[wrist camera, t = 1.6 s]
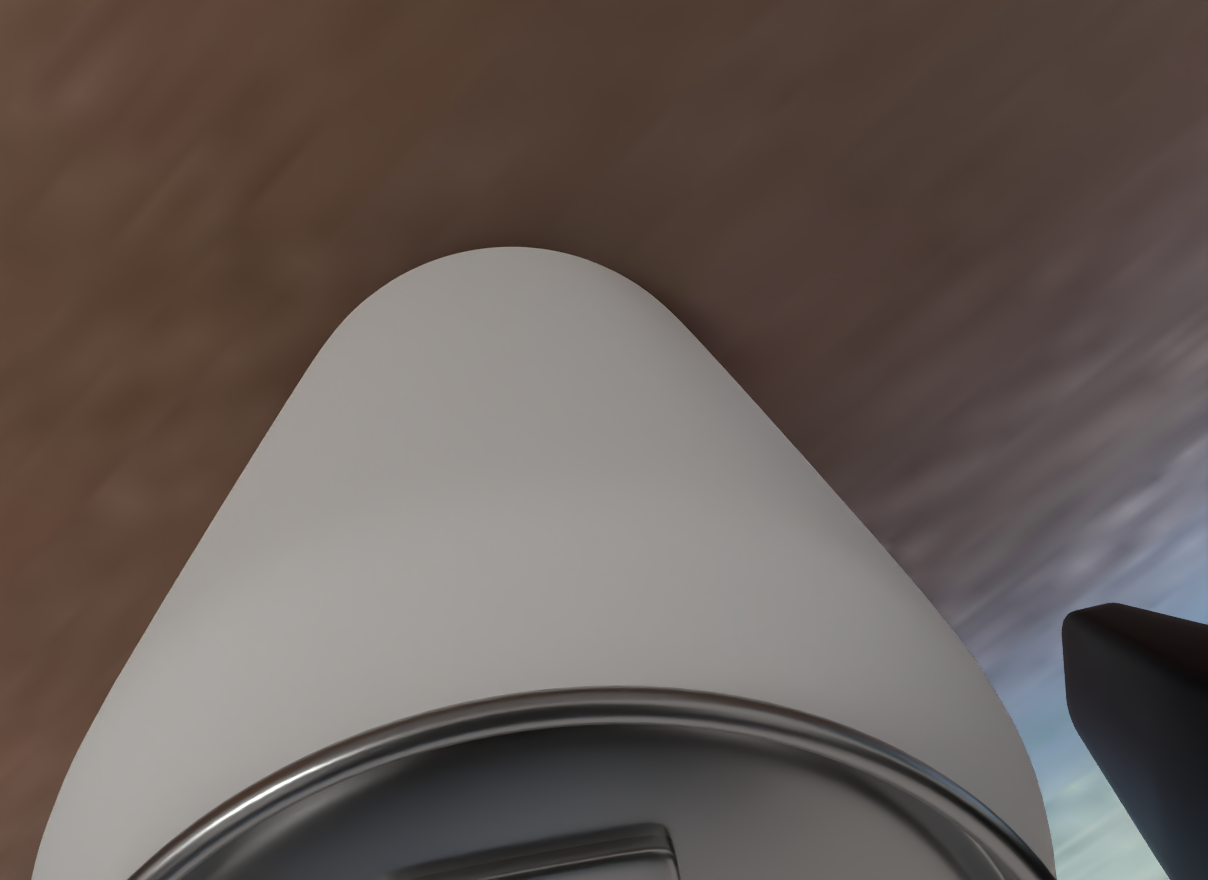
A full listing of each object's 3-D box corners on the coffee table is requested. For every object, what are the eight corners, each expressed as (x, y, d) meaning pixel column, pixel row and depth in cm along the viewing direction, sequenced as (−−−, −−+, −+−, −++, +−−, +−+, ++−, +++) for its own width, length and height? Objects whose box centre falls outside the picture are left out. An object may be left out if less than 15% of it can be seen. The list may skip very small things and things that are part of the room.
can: (343, 681, 18) (101, 1742, 6) (247, 277, 16) (-361, 761, 4) (743, 610, 18) (1197, 1491, 7) (699, 208, 16) (1232, 485, 5)
